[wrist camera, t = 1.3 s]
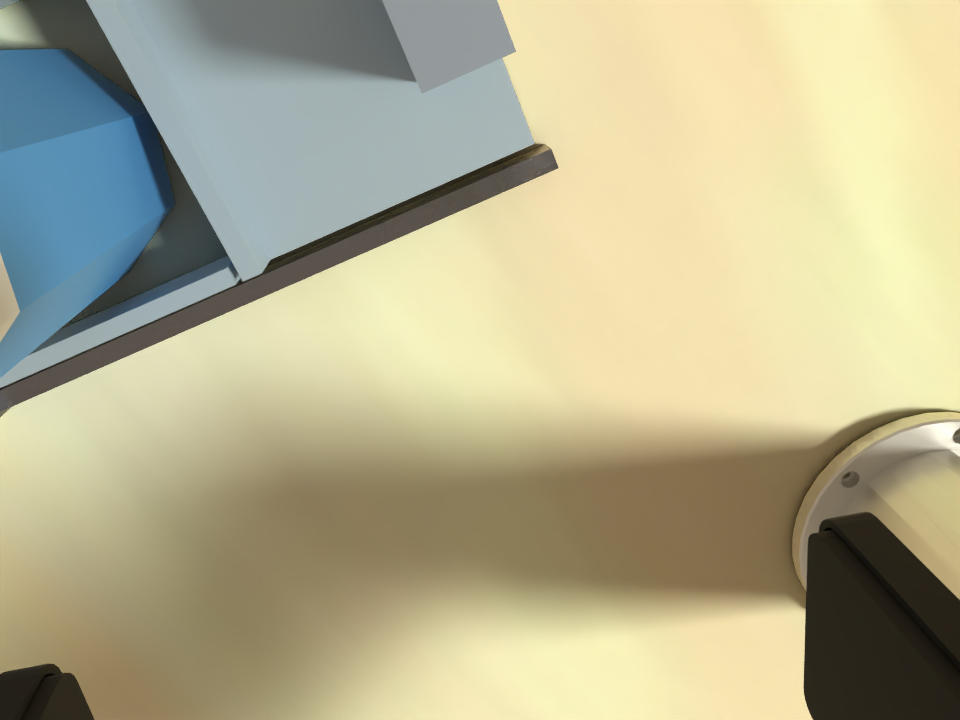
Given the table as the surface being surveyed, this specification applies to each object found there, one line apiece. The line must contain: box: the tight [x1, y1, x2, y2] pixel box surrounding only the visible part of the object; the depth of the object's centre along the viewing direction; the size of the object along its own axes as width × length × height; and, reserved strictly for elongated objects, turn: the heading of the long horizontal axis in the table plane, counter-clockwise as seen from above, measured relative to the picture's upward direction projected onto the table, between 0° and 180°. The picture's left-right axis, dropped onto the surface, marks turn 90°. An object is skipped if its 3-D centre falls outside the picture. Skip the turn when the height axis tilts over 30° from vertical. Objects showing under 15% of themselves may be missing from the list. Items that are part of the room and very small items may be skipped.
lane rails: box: [0, 144, 558, 417], centre depth 29 cm, size 26×23×2 cm
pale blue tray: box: [0, 0, 535, 388], centre depth 27 cm, size 24×13×8 cm, turn 112°
